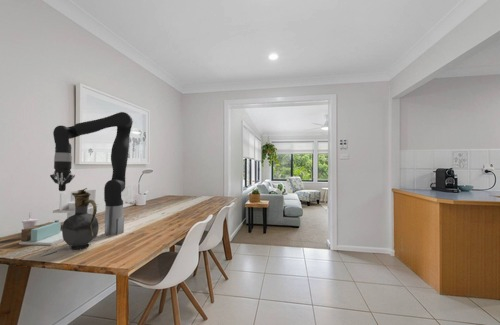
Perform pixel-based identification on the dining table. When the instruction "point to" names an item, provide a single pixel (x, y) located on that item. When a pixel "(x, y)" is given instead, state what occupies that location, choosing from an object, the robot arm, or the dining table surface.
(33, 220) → the smoothie
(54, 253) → the dining table surface
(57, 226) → the arm
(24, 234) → the arm
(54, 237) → the board
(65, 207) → the architectural model
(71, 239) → the pitcher
